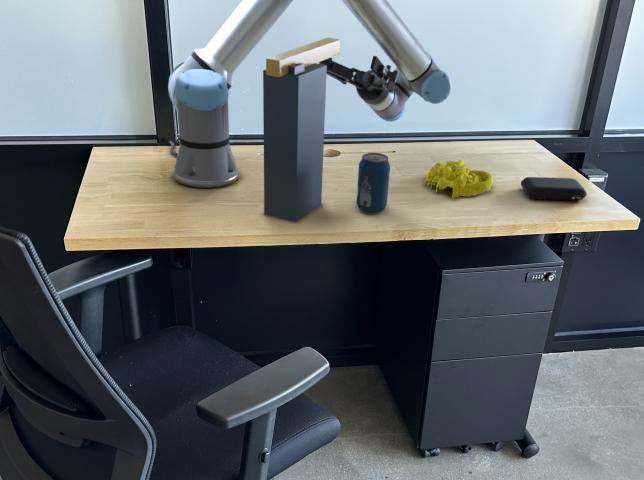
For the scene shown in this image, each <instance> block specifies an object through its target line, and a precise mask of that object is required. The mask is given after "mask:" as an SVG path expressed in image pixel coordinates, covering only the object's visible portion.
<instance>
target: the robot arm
mask: <svg viewBox="0 0 644 480" xmlns="http://www.w3.org/2000/svg"><path fill="white" fill-rule="evenodd" d="M292 2H294V0H242V1H241V2H240V3H239V5H238V6H237V7H236V8H235V9H234V11H233V12H232V13H231V15H229V18H227V20H226V21H225V23H224V24H223V25H222V26H220V27H221V28H220V29H219V30H218V31H217V32H216V34H215V35H214V36H213V38H212V39H211V40H210V41H209V43H208V44H207V45H206V46H205V47H204V48H195V49H194V51H192V53H191V54H190V55H189V57H188V58H187V59H186V60H185V61H183V62H181V63H179V64H177V65H176V66H175V67H174V68H173V70H172V71H171V73H170V75H169V78H168V85H167V89H168V90H167V91H168V96H169V98H170V99H169V100H170V101H171V103H172V104H173V106H174V109H175V110H176V114H177V125H178V126H177V128H178V140H179V147H178V150H177V152H176V151H174V148H175V143H174V142H173V141H172V140H171V141H169V140H167V139H165V138H161V137H160V139H159V140H160V141H164V140H166V141H167V142H168V143H169V144H170V145H171V146H170V147H169V152H170V154H172V155H174V156H176V159H175V162H174V166H173V167H174V168H173V177H174V179H175V181H176V182H178V184H181V185H183V186H187V187H191V188H197V189H198V188H199V189H200V188H201V189H212V188H214V189H215V188H220V187H221V188H222V187H225V186H229V185H231V184H233V183H235V182H236V181H237V180H238V179H239V169H238V165H237V162H236V159H235V157H234V154H233V151H232V148H231V145H230V123H229V122H230V121H229V118H230V117H229V94H230V93H229V90H231V88H232V86H233V84H234V81H233V77H234V76H233V75H234V74H235V72H237V70H238V69H239V68H240V66H241V65H242V64H243V63H244V61H245V60H246V59H247V58H248V57H249V55H250V54H251V53H252V52H253V50H254V49H255V48H256V47H257V45H259V43H260V42H261V41H262V39H263V38H264V37H265V36H266V34H267V33H268V32H269V31H270V29H271V28H272V27H273V26H274V25H275V24H276V22H277V21H278V19H279V18H280V17H281V16H282V15H283V14H284V13H285V11H286V10H287V8H289V6H290V5H291V4H292ZM341 2H342V3H343V4H344V5H345V7H346V8H348V10H349V12H351V14H352V15H353V16H354V17H355V18H356V20H357V21H358V22H359V24H361V26H362V27H363V28H364V29H365V30H366V32H367V33H368V34H369V36H370V37H371V38H372V39H373V40H374V41H375V42H376V44H377V45H378V46H379V47H380V49H381V50H382V51H383V53H385V55H386V56H387V57H388V59H389V60H390V61H391V62H392V63H393V65H394V66H395V67H396V68H395V69H394V70H393V71H391V70H392V66H391V65H390V64H386V65H384V63H383V62H382V61H381V60H380V58H379V57H378V56H377V55H373V56H372V60H371V63H370V67H369V70H366V71H364V70H359V69H357V68H355V67H348V66H345V65H343V64H341V63H340V62H339V63H338V62H337V61H334V60H333V57H331V58H328V59H326V60H323V61H320V62H318V64H323V65H327V72H326V76H329V77H330V78H333V79H335V80H337V81H338V82H340V83H341V84H342V85H347V84H350V85H352V86H354V87H355V88H356V93H357V95H358V96H359V98H360V99H361V100H362V101H363V102H364V103H365V104H366V105H367V106H368V107H369V108H370V109H371V110H372V111H373V112H374V113H375V114H376V115H377V116H378V117H379V118H381V119H382V120H383V121H385V122H390V123H391V122H396V121H398V120H399V119H400V118H402V116H403V114H404V112H405V110H406V104H405V103H406V102H407V101H408V100H409V99H410V97H411V96H412V95H413V94H414V93H415V94H417V95H418V96H419V97H420V98H422V99H423V100H424V101H425V102H427V103H430V104H434V105H438V104H441V103H444V101H446V100H447V99H448V98H449V96H450V94H451V92H452V87H453V84H452V83H453V82H452V80H451V78H450V76H449V75H448V73H446V72H445V70H442V69H440V67H439V66H438V65H437V62H436V61H435V59H434V58H433V56H431V54H430V53H429V52H427V50H426V49H425V48H424V46H423V45H422V44H421V42H420V41H419V40H418V39H417V38H416V36H415V34H414V33H412V31H411V30H410V29H409V27H408V26H407V25H406V23H405V22H404V21H403V19H402V18H401V16H400V15H399V14H398V13H397V12H396V10H395V9H394V8H393V6H392V5H391V4H390V3H389V1H388V0H341Z"/></svg>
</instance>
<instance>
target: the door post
mask: <svg viewBox="0 0 644 480" xmlns="http://www.w3.org/2000/svg"><path fill="white" fill-rule="evenodd" d="M326 72H327V65H323V64H319V63H315V64H313V65H310V66H307V67H305V68H304V64H303V63H298V64H295V65H292V66H290V67H289V74H287V75H284V76H281V77H275V76H270V75H266V68H265V69H263V70H262V100H263V101H262V103H263V104H262V105H263V106H262V107H263V109H262V110H263V111H262V112H263V113H262V114H263V117H262V118H263V119H262V120H263V122H262V123H263V215H264V216H268V217H271V218H276V219H281V220H285V221H289V222H293V223H298V222H299V221H300V220H302V219H303V218H304V217H306V216H307V215H309V214H310V213H311V212H314V211H315V210H316V209H318V208H319V207H320V206H322V200H323V199H322V197H323V196H322V195H323V175H324V173H323V170H324V149H325V148H324V145H325V124H326V123H325V119H326V96H327V95H326V94H327V74H326Z"/></svg>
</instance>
